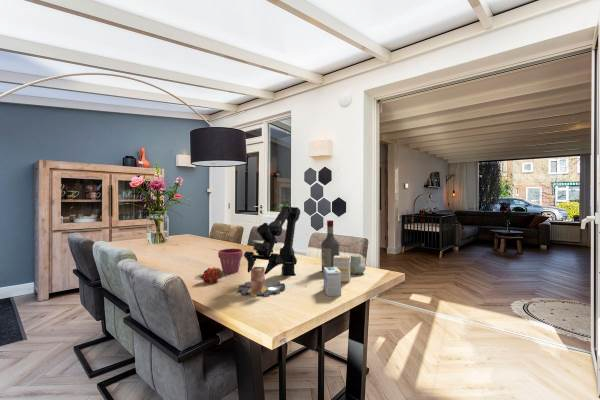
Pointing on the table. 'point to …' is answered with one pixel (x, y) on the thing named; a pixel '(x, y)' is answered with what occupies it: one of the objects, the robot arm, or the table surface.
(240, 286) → the timing wheel
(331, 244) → the liquor
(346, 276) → the supplement box
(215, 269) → the dragon fruit
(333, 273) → the light bulb box
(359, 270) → the air freshener
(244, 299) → the table surface
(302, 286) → the table surface
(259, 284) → the link block
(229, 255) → the plant pot
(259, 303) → the table surface
